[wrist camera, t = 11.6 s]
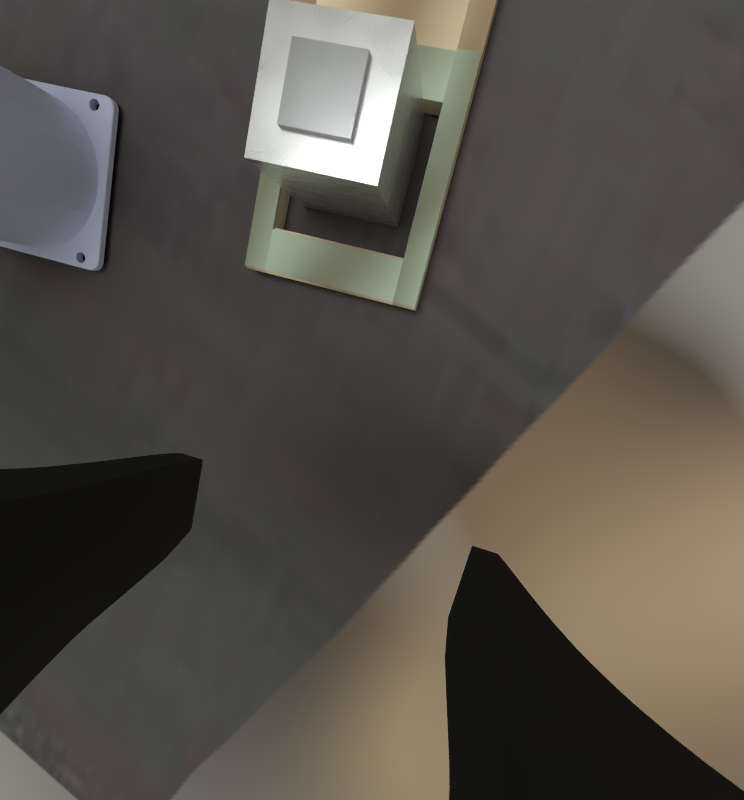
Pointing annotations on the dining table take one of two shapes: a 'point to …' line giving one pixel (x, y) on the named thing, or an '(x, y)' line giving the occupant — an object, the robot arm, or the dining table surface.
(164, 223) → the dining table surface
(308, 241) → the wooden peg board
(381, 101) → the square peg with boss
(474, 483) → the dining table surface
